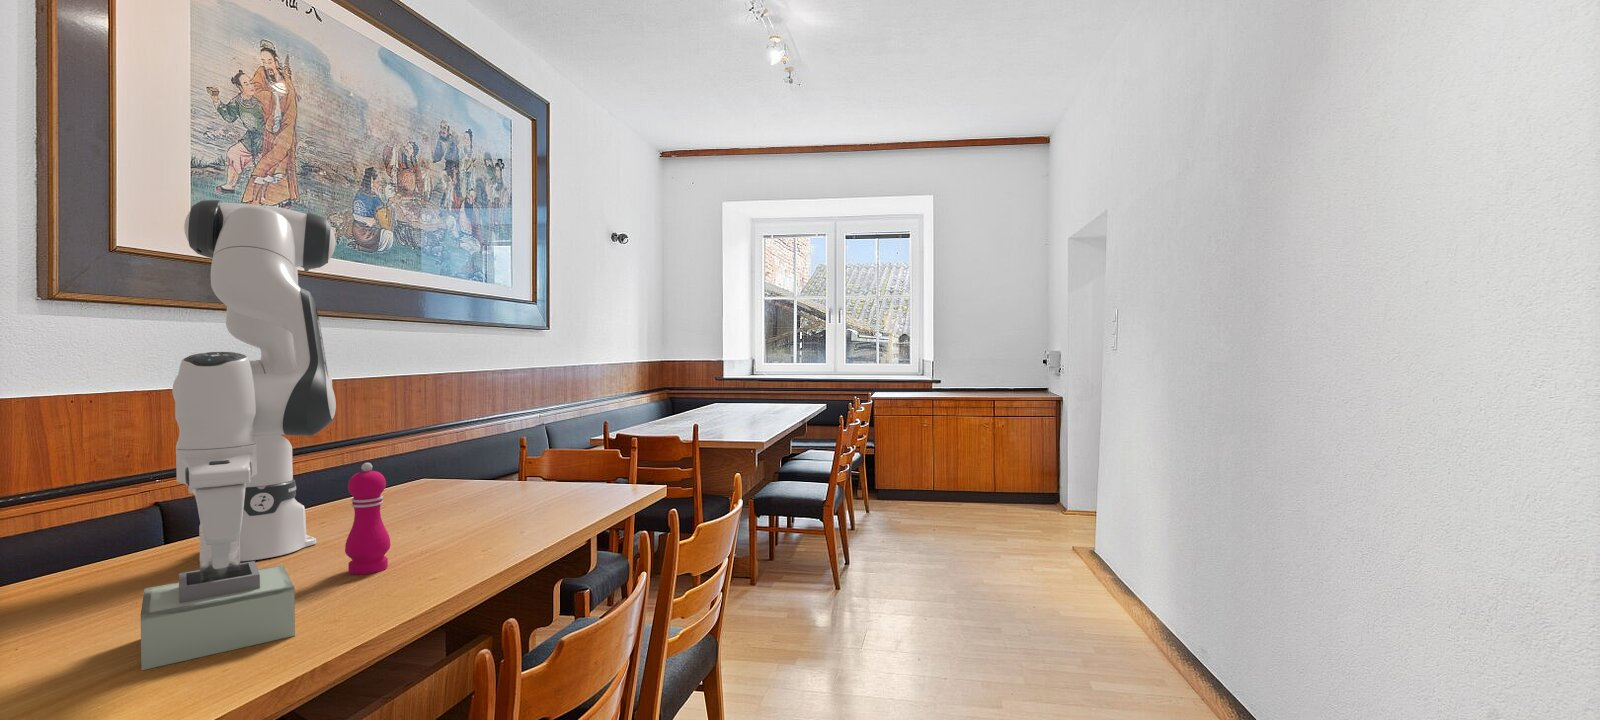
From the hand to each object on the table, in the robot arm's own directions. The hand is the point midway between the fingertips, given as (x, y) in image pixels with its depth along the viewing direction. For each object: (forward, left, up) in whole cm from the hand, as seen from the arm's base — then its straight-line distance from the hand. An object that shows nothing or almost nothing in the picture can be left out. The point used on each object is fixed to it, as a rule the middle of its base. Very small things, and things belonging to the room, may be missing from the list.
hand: (219, 562), depth 100 cm
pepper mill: (-21, +22, -11) cm, 32 cm away
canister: (0, 0, -3) cm, 3 cm away
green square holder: (0, 0, -11) cm, 11 cm away
